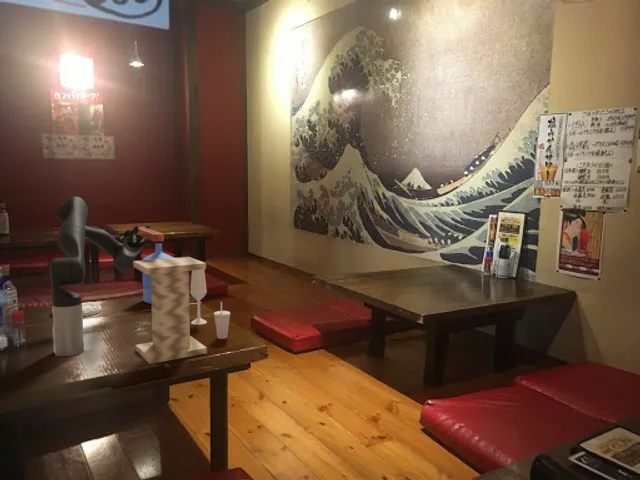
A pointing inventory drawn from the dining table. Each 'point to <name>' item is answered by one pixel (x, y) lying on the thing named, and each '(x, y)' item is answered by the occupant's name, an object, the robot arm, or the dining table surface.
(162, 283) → the beech pedestal
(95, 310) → the embossed medallion
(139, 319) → the dining table surface
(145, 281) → the water jug
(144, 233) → the lacquered bar
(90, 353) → the dining table surface
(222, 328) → the smoothie
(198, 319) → the champagne flute
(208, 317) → the dining table surface
